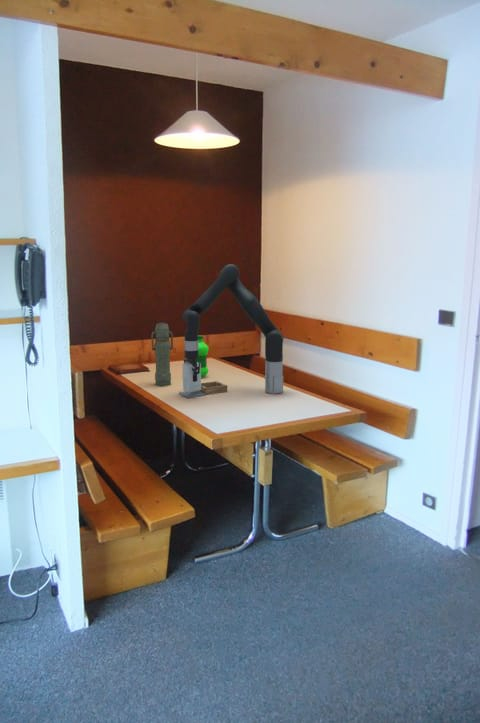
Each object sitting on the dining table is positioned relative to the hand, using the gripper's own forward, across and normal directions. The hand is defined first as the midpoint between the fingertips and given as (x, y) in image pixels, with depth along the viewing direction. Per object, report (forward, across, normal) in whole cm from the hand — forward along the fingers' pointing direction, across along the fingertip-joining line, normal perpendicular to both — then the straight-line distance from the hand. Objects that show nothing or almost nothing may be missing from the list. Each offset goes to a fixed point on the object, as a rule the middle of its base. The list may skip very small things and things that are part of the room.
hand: (191, 380), depth 302 cm
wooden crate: (+8, +2, -13) cm, 15 cm away
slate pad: (+8, 0, 0) cm, 8 cm away
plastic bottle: (+8, +35, -24) cm, 43 cm away
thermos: (+8, +29, +3) cm, 30 cm away
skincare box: (+6, 0, 0) cm, 6 cm away
